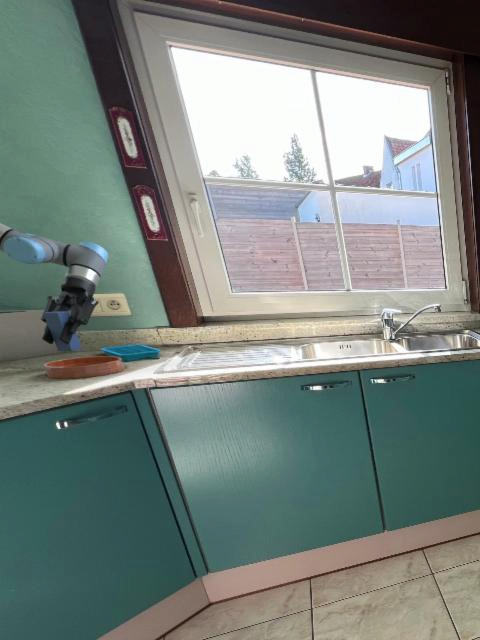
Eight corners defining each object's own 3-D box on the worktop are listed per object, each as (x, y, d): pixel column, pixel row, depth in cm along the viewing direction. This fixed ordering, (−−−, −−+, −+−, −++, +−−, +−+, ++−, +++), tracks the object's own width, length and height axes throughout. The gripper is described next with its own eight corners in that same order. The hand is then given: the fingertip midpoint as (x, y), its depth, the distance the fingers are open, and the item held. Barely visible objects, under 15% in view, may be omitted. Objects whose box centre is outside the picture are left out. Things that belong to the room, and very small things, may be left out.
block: (57, 351, 158) (42, 312, 153) (68, 348, 162) (54, 311, 157) (71, 351, 158) (57, 312, 154) (82, 348, 162) (68, 311, 158)
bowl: (41, 383, 143) (36, 369, 142) (56, 371, 156) (51, 359, 155) (120, 376, 152) (116, 363, 151) (129, 366, 165) (125, 354, 164)
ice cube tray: (142, 352, 187) (139, 344, 186) (165, 358, 177) (162, 350, 176) (101, 356, 178) (98, 348, 176) (123, 364, 168) (120, 355, 167)
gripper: (117, 291, 169) (95, 348, 160) (61, 290, 167) (36, 348, 158) (99, 275, 162) (75, 334, 153) (41, 275, 160) (13, 334, 151)
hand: (55, 341), depth 155 cm, fingers closed on block, 4 cm apart
